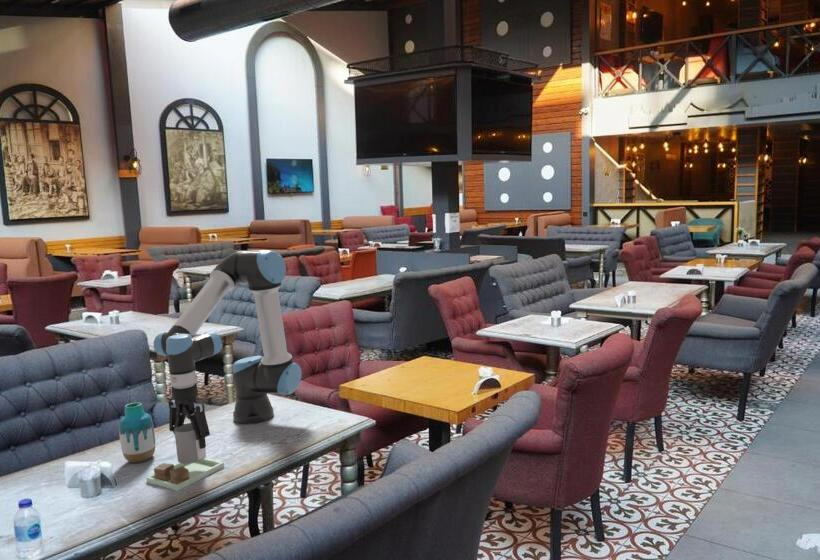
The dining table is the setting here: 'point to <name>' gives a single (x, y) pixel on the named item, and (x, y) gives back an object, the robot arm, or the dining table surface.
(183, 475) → the block
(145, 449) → the vase
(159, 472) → the block
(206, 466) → the tray
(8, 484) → the dining table surface
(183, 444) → the cup
